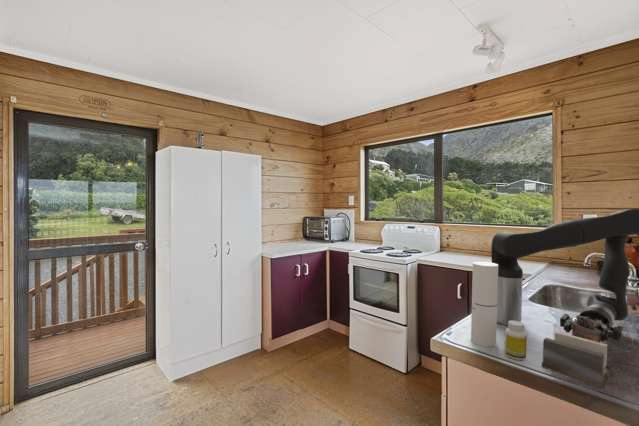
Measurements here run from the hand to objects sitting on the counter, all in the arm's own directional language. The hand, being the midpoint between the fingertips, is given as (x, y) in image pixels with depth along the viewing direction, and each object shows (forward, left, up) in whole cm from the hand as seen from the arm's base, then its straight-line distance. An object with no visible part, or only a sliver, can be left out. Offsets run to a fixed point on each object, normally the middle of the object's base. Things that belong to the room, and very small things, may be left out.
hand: (584, 333), depth 90 cm
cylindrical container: (-23, -10, -8) cm, 26 cm away
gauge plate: (0, -4, -6) cm, 8 cm away
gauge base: (0, -8, -8) cm, 11 cm away
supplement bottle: (-13, -12, -8) cm, 20 cm away
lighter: (0, +2, -6) cm, 7 cm away
